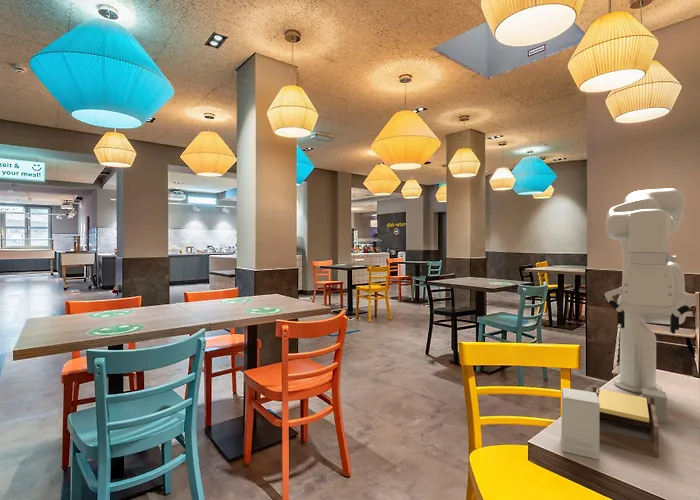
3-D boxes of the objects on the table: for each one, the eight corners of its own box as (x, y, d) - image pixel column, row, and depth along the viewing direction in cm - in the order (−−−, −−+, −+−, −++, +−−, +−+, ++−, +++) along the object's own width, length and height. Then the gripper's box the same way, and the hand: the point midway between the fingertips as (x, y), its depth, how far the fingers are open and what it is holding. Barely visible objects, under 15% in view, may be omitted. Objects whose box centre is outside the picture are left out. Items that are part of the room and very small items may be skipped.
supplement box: (600, 460, 82) (600, 403, 82) (561, 451, 86) (561, 397, 86) (597, 445, 89) (597, 392, 89) (561, 437, 92) (561, 386, 92)
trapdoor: (598, 392, 103) (598, 388, 103) (648, 401, 96) (648, 397, 96) (594, 410, 91) (594, 406, 91) (651, 422, 85) (651, 418, 85)
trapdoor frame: (593, 414, 104) (593, 384, 104) (653, 428, 97) (653, 395, 97) (588, 439, 91) (588, 405, 91) (658, 457, 83) (658, 420, 83)
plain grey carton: (641, 412, 106) (642, 387, 106) (664, 417, 103) (665, 392, 103) (642, 419, 102) (642, 393, 102) (666, 424, 99) (666, 397, 99)
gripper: (692, 260, 89) (692, 331, 89) (605, 259, 99) (605, 323, 100) (697, 261, 83) (697, 338, 83) (603, 259, 93) (603, 328, 94)
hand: (646, 329), depth 91 cm, fingers open, 9 cm apart
